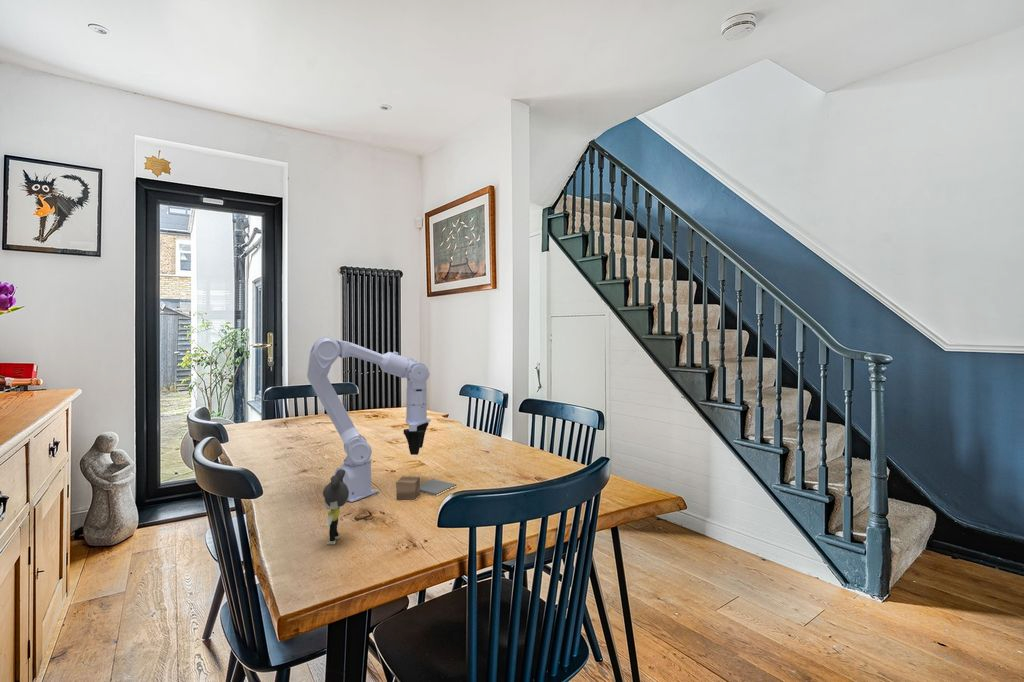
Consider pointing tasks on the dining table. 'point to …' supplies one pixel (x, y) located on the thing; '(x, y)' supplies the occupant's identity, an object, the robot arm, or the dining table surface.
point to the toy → (335, 502)
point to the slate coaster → (435, 486)
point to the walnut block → (407, 488)
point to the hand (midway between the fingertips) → (416, 450)
